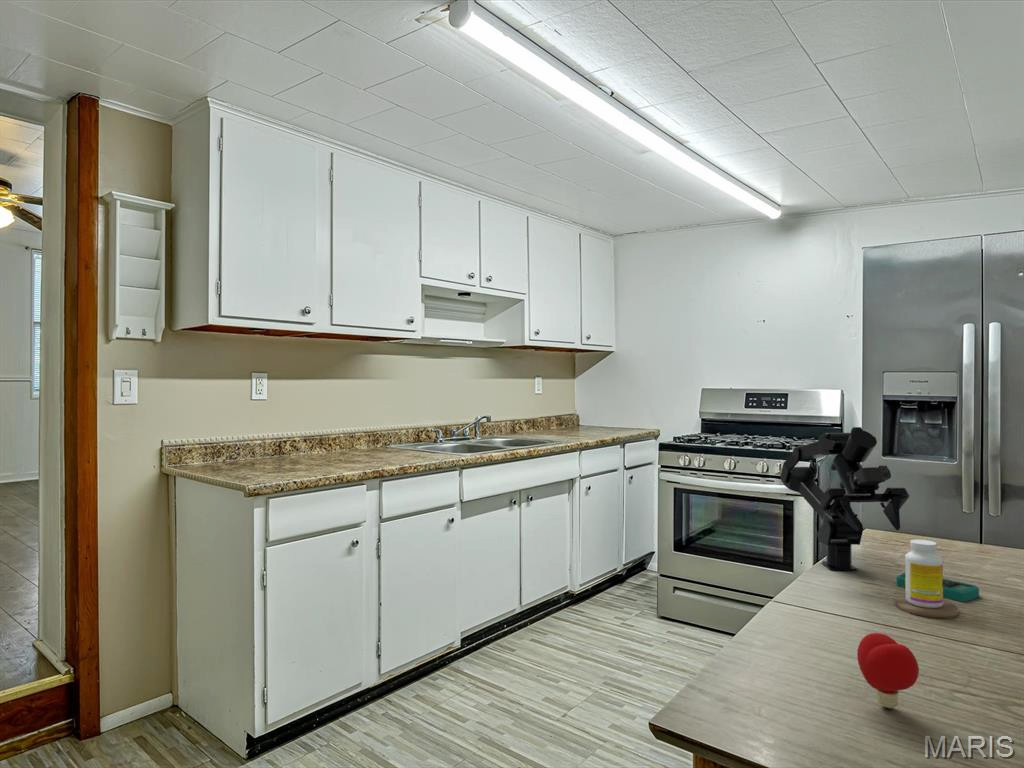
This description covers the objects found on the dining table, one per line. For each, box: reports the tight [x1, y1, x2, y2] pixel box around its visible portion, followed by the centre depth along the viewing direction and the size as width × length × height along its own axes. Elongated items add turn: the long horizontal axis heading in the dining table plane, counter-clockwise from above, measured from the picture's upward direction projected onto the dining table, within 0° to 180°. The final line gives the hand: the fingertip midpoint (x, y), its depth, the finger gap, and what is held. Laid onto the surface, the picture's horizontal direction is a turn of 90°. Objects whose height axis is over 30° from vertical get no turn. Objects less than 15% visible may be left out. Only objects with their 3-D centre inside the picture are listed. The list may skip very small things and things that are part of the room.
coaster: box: [894, 595, 959, 619], centre depth 135 cm, size 11×11×1 cm
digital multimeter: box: [896, 572, 980, 603], centre depth 147 cm, size 7×15×3 cm, turn 32°
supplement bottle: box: [904, 539, 944, 608], centre depth 135 cm, size 7×7×13 cm
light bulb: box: [856, 632, 920, 711], centre depth 94 cm, size 9×7×10 cm
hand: (878, 529), depth 148 cm, fingers open, 9 cm apart
